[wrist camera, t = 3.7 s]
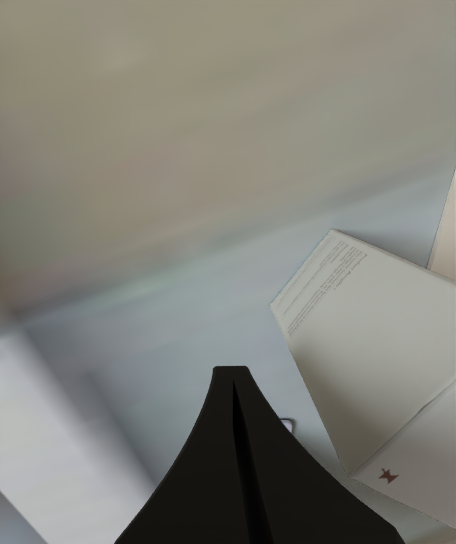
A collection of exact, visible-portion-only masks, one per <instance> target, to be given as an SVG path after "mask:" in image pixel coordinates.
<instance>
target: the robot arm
mask: <svg viewBox="0 0 456 544" xmlns="http://www.w3.org/2000/svg"><path fill="white" fill-rule="evenodd" d="M291 432H292V424H291V422H290V421H289V420H280V418H279V417H278V416H277V414H276V413H275V412H274V410H273V409H272V407H271V406H270V404H269V403H268V401H267V400H266V399H265V397H264V396H263V394H262V392H261V391H260V389H259V387H258V386H257V384H256V382H255V380H254V379H253V377H252V375H251V373H250V371H249V369H248V367H247V366H216V367H214V368H213V374H212V380H211V384H210V387H209V390H208V393H207V396H206V399H205V402H204V404H203V407H202V409H201V412H200V414H199V416H198V418H197V421H196V423H195V425H194V427H193V429H192V431H191V433H190V435H189V437H188V439H187V441H186V443H185V444H184V446H183V448H182V450H181V451H180V453H179V455H178V456H177V458H176V460H175V461H174V463H173V465H172V466H171V468H170V469H169V471H168V473H167V474H166V476H165V477H164V479H163V480H162V481H161V483H160V484H159V486H158V487H157V488H156V490H155V491H154V493H153V494H152V495H151V497H150V498H149V500H148V501H147V502H146V504H145V505H144V506H143V508H142V509H141V510H140V512H139V513H138V514H137V515H136V516H135V518H134V519H133V520H132V521H131V523H130V524H129V525H128V526H127V528H126V529H125V530H124V531H123V533H122V534H121V535H120V536H119V537H118V539H117V540H116V541H115V543H114V544H405V542H404V541H403V539H402V538H401V536H400V535H399V533H398V531H397V530H396V528H395V527H394V526H393V525H391V524H390V523H389V522H387V521H386V520H385V519H383V518H382V517H381V516H379V515H378V514H377V513H376V512H374V511H373V510H372V509H370V508H369V507H368V506H366V505H365V504H364V503H363V502H361V501H360V500H359V499H358V498H356V497H355V496H354V495H353V494H352V493H350V492H349V491H348V490H347V489H346V488H345V487H343V486H342V485H341V484H340V483H339V482H338V481H337V480H336V479H335V478H334V477H333V476H332V475H331V474H330V473H328V472H327V471H326V470H325V469H324V468H323V467H322V466H321V465H320V464H319V463H318V462H317V461H316V460H315V459H314V458H313V457H312V456H311V455H310V454H309V453H308V452H307V451H306V450H305V448H304V447H303V446H302V445H301V444H300V443H299V442H298V441H297V440H296V438H295V437H294V436H293V435H292V434H291Z"/></svg>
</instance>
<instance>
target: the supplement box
mask: <svg viewBox="0 0 456 544" xmlns="http://www.w3.org/2000/svg"><path fill="white" fill-rule="evenodd" d="M270 308H271V310H272V312H273V315H274V317H275V319H276V321H277V323H278V325H279V327H280V330H281V332H282V334H283V336H284V338H285V341H286V343H287V345H288V347H289V349H290V352H291V354H292V356H293V358H294V360H295V362H296V365H297V367H298V369H299V371H300V373H301V376H302V378H303V380H304V382H305V384H306V386H307V389H308V391H309V393H310V395H311V397H312V400H313V402H314V404H315V406H316V408H317V411H318V413H319V415H320V417H321V419H322V422H323V424H324V426H325V428H326V430H327V432H328V435H329V437H330V439H331V441H332V443H333V446H334V448H335V450H336V452H337V455H338V457H339V459H340V461H341V464H342V466H343V468H344V470H345V472H346V474H347V476H348V477H350V478H352V479H355V480H357V481H359V482H361V483H363V484H365V485H366V486H368V487H370V488H372V489H374V490H376V491H378V492H380V493H382V494H384V495H386V496H388V497H390V498H392V499H394V500H396V501H398V502H400V503H403V504H405V505H407V506H409V507H411V508H413V509H415V510H417V511H419V512H421V513H424V514H426V515H428V516H430V517H432V518H434V519H436V520H438V521H440V522H442V523H444V524H446V525H448V526H451V527H453V528H455V529H456V281H454V280H452V279H450V278H447V277H445V276H443V275H440V274H438V273H436V272H433V271H431V270H428V269H426V268H424V267H421V266H419V265H417V264H415V263H412V262H410V261H408V260H406V259H403V258H401V257H399V256H397V255H394V254H392V253H390V252H387V251H385V250H383V249H380V248H378V247H376V246H373V245H371V244H369V243H366V242H364V241H362V240H359V239H357V238H354V237H351V236H349V235H347V234H344V233H342V232H339V231H337V230H334V229H331V230H330V231H329V233H328V234H327V235H326V236H325V238H324V239H323V240H322V241H321V243H320V244H319V245H318V246H317V247H316V249H315V250H314V251H313V252H312V254H311V255H310V256H309V257H308V259H307V260H306V261H305V262H304V264H303V265H302V266H301V267H300V269H299V270H298V271H297V272H296V274H295V275H294V276H293V277H292V279H291V280H290V281H289V282H288V284H287V285H286V286H285V287H284V289H283V290H282V291H281V292H280V294H279V295H278V296H277V297H276V299H275V300H274V301H273V302H272V304H271V305H270Z"/></svg>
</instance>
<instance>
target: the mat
mask: <svg viewBox="0 0 456 544" xmlns="http://www.w3.org/2000/svg"><path fill="white" fill-rule="evenodd" d="M427 269H428V270H431V271H433V272H436V273H438V274H440V275H443V276H445V277H447V278H450V279H452V280H454V281H456V169H455V173H454V176H453V179H452V183H451V186H450V190H449V193H448V197H447V200H446V203H445V207H444V210H443V214H442V217H441V221H440V224H439V227H438V231H437V234H436V238H435V241H434V245H433V248H432V251H431V255H430V258H429V262H428V265H427Z"/></svg>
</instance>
